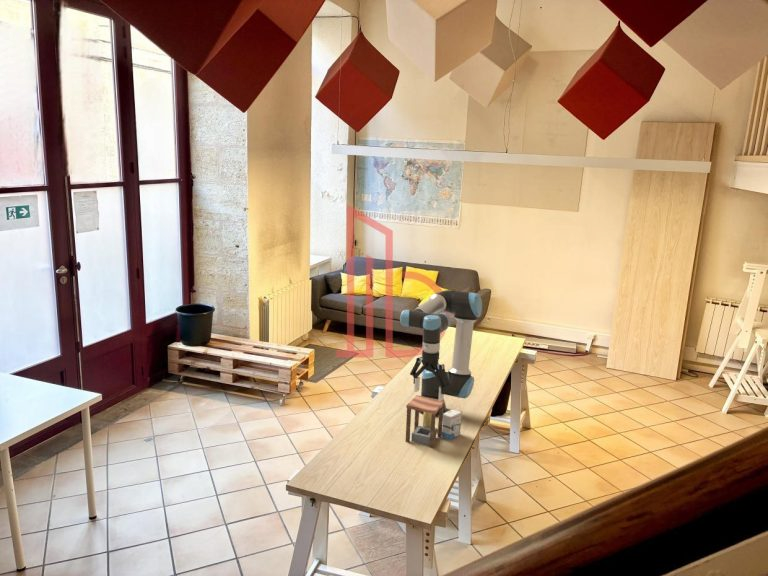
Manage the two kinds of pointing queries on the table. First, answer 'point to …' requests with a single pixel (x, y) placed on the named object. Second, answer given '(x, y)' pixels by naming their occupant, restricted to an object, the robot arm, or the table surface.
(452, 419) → the ink box
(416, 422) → the wooden stool
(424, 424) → the peg
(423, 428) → the socket block
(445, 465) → the table surface
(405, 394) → the table surface
